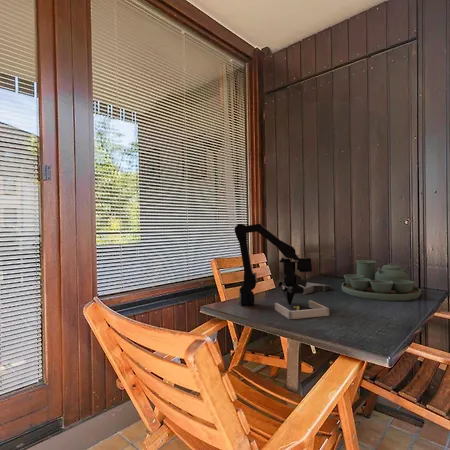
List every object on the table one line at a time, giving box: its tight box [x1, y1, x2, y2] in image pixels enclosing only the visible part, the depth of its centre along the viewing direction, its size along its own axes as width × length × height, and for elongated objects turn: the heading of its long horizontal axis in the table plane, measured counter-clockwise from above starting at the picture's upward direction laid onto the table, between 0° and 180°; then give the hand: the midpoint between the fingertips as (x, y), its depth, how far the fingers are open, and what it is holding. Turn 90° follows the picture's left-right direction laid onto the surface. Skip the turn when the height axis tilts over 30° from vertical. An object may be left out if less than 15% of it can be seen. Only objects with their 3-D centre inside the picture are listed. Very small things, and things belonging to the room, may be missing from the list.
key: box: [293, 305, 300, 310], centre depth 135 cm, size 7×12×2 cm, turn 2°
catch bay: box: [274, 299, 330, 320], centre depth 136 cm, size 18×15×3 cm
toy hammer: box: [274, 281, 332, 295], centre depth 186 cm, size 24×4×30 cm
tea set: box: [341, 259, 422, 302], centre depth 173 cm, size 40×40×16 cm
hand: (289, 304), depth 147 cm, fingers closed
